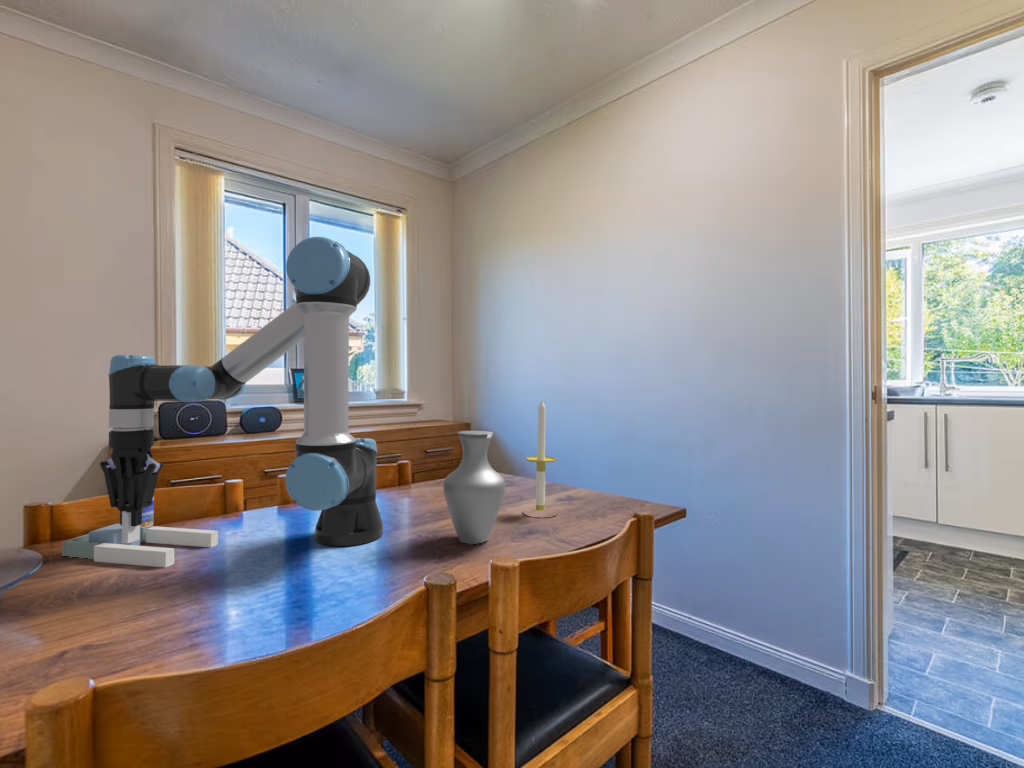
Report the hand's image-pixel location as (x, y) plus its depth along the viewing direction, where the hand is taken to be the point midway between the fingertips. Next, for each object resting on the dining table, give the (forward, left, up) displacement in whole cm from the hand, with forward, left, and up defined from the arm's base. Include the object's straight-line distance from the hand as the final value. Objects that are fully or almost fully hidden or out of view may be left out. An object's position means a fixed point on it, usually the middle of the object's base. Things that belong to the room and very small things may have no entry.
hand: (130, 541), depth 103 cm
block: (+4, 0, -2) cm, 4 cm away
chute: (-7, 0, -2) cm, 7 cm away
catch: (+6, 0, -2) cm, 6 cm away
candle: (-82, -47, -2) cm, 94 cm away
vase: (-69, -21, -2) cm, 72 cm away
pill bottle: (+12, -14, -2) cm, 19 cm away
